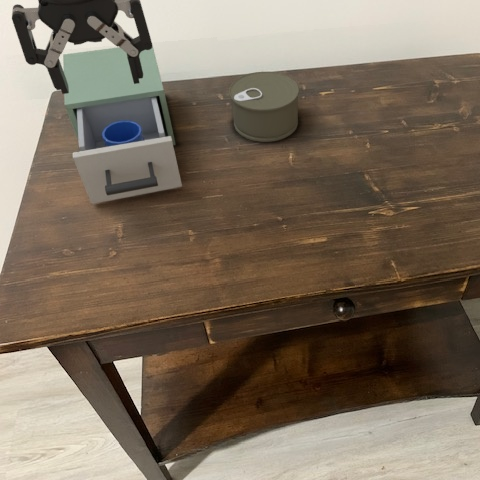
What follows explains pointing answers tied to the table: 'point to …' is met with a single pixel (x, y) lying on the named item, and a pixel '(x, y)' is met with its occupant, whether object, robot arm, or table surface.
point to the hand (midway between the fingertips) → (101, 85)
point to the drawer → (124, 152)
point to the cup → (122, 133)
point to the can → (265, 106)
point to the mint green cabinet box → (111, 82)
